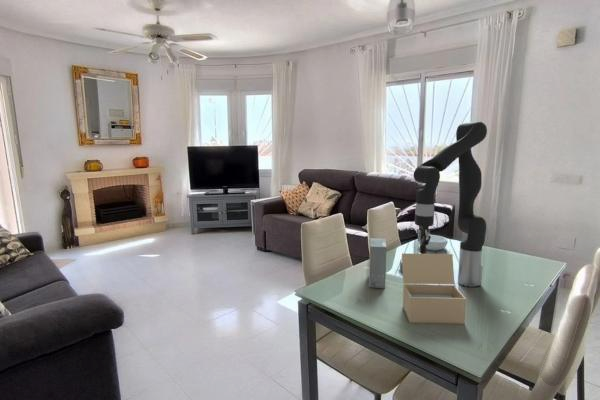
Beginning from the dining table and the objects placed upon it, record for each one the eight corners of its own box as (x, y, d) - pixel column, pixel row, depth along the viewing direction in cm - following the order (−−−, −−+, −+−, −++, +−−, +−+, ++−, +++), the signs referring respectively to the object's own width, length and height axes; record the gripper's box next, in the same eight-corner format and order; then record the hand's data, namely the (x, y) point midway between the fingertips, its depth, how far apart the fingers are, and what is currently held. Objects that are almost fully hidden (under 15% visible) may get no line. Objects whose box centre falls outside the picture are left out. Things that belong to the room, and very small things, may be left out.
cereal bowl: (420, 252, 209) (421, 241, 207) (416, 244, 225) (416, 234, 224) (450, 253, 206) (450, 242, 205) (443, 245, 222) (444, 235, 221)
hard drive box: (385, 288, 158) (386, 247, 154) (368, 287, 159) (369, 246, 156) (384, 276, 173) (385, 238, 169) (368, 275, 174) (369, 237, 171)
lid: (454, 284, 136) (453, 284, 137) (452, 254, 139) (451, 254, 140) (403, 283, 138) (403, 283, 139) (402, 253, 140) (401, 253, 141)
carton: (453, 308, 138) (454, 285, 136) (464, 324, 126) (466, 298, 125) (402, 307, 140) (403, 284, 138) (409, 322, 128) (410, 297, 126)
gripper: (438, 217, 137) (436, 258, 140) (429, 210, 150) (427, 248, 153) (419, 217, 138) (417, 258, 140) (411, 210, 151) (410, 248, 153)
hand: (422, 253), depth 147 cm, fingers closed
